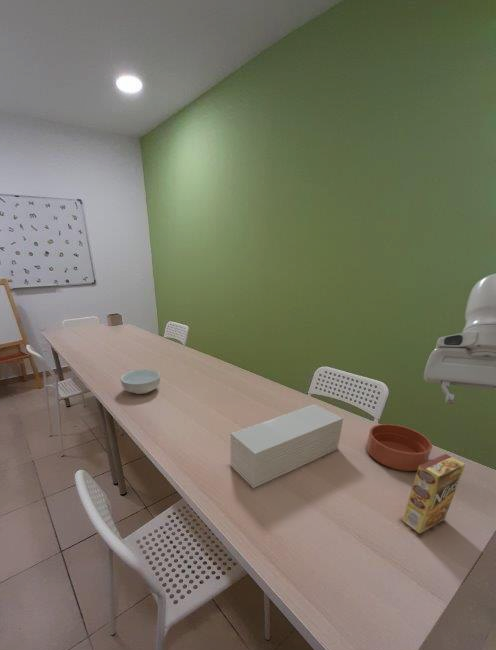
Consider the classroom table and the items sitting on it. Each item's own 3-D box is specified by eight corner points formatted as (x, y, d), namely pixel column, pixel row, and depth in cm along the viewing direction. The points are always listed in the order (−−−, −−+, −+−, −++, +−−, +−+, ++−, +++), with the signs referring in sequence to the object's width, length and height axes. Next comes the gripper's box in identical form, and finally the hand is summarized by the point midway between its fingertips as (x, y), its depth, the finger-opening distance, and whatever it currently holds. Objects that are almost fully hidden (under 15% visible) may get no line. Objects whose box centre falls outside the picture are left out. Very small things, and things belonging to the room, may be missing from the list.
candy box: (419, 535, 63) (440, 477, 57) (400, 520, 66) (418, 464, 60) (445, 520, 66) (467, 464, 60) (425, 506, 70) (444, 452, 64)
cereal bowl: (126, 402, 124) (124, 386, 121) (119, 387, 138) (117, 373, 135) (166, 393, 130) (164, 378, 127) (155, 380, 144) (154, 366, 141)
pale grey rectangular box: (253, 488, 77) (255, 453, 72) (230, 465, 85) (230, 433, 81) (337, 449, 91) (343, 418, 87) (310, 432, 99) (314, 403, 95)
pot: (432, 455, 87) (438, 437, 85) (417, 480, 78) (423, 461, 75) (376, 434, 97) (380, 418, 95) (357, 455, 88) (361, 438, 86)
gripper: (551, 354, 61) (544, 420, 59) (428, 348, 73) (419, 402, 71) (564, 342, 56) (556, 413, 54) (430, 337, 68) (419, 395, 66)
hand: (477, 406), depth 63 cm, fingers open, 8 cm apart
